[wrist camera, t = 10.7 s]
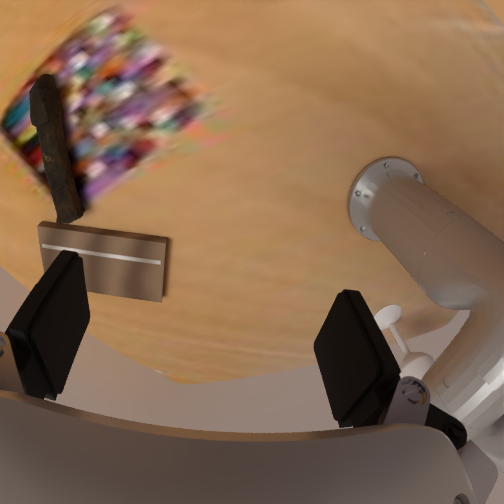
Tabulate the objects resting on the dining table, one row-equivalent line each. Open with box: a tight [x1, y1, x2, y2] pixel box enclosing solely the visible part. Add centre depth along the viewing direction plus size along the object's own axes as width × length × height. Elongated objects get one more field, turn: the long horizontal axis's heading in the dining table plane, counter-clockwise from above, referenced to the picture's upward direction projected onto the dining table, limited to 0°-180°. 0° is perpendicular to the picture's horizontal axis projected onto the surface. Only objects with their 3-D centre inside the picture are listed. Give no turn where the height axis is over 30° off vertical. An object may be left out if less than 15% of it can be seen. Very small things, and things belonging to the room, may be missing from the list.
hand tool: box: [29, 74, 85, 224], centre depth 28 cm, size 19×4×5 cm, turn 0°
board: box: [37, 221, 167, 302], centre depth 38 cm, size 19×10×2 cm, turn 77°
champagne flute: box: [374, 305, 435, 380], centre depth 43 cm, size 7×7×24 cm
